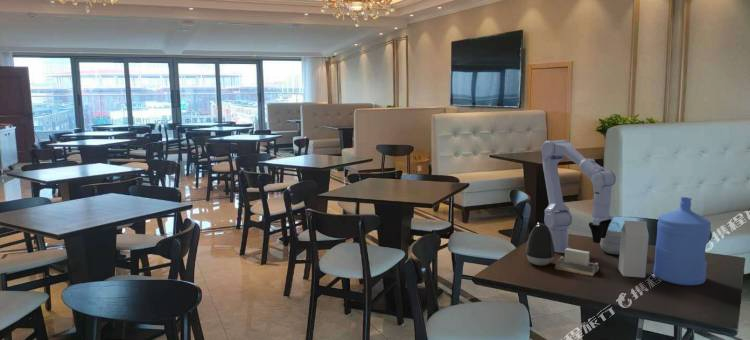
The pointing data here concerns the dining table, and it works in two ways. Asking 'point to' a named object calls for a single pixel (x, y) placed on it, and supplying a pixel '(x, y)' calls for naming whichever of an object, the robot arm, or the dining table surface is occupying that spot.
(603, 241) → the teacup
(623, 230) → the milk carton
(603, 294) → the dining table surface
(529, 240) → the egg shaped speaker
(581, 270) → the door frame
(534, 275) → the dining table surface
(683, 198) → the water jug
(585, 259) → the door panel
